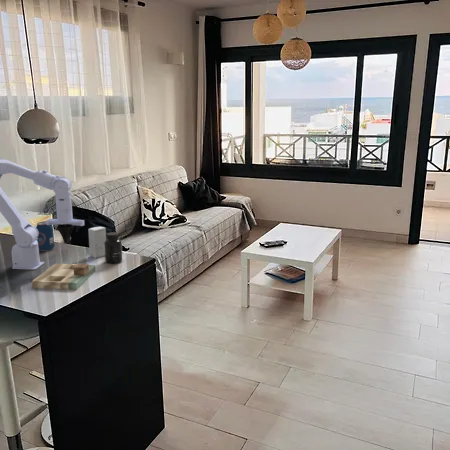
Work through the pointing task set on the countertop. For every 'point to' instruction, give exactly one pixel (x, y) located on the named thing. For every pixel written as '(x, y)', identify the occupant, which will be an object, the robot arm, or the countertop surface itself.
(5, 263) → the countertop surface
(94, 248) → the skincare box
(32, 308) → the countertop surface
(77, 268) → the walnut block
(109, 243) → the supplement bottle
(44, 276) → the trap board
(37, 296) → the countertop surface
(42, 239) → the soda can
